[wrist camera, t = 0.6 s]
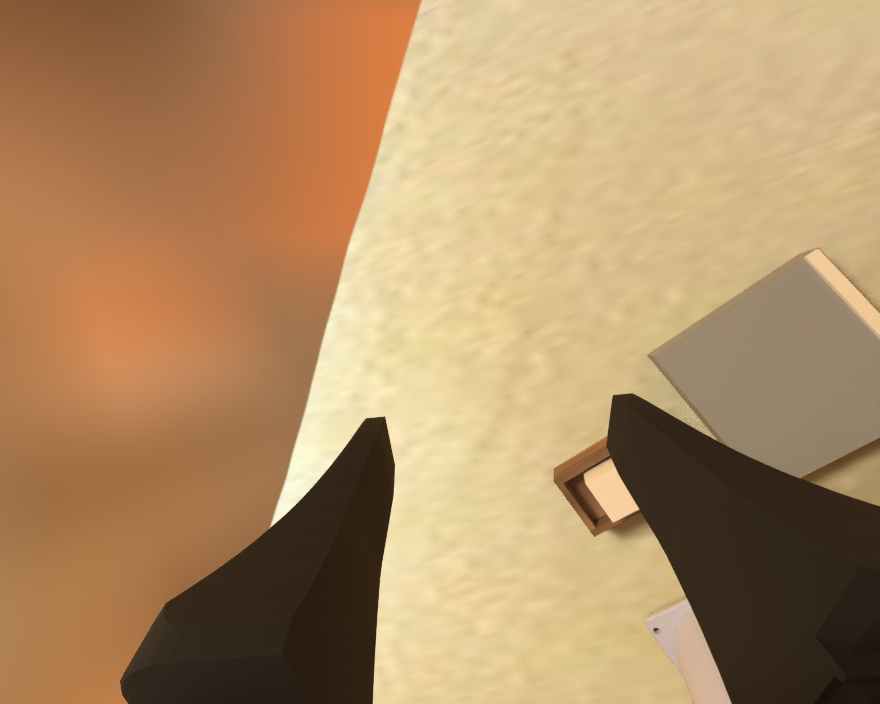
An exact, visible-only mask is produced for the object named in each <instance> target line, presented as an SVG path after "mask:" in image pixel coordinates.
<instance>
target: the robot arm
mask: <svg viewBox="0 0 880 704" xmlns="http://www.w3.org/2000/svg"><path fill="white" fill-rule="evenodd" d="M606 447H607V449H608V451H609V454H610V456H611V459H612V461H613V463H614V466H615V468H616V470H617V472H618V474H619V476H620V478H621V480H622V481H623V483H624V485H625V486H626V488H627V490H628V491H629V493H630V495H631V496H632V498H633V500H634V501H635V503H636V505H637V506H638V508H639V510H640V511H641V513H642V515H643V516H644V518H645V519H646V521H647V523H648V524H649V526H650V528H651V529H652V531H653V533H654V534H655V536H656V538H657V539H658V541H659V543H660V544H661V546H662V548H663V550H664V552H665V553H666V555H667V557H668V559H669V561H670V564H671V566H672V568H673V570H674V572H675V574H676V576H677V578H678V580H679V582H680V584H681V586H682V588H683V591H684V593H685V595H686V597H687V599H684V600H682V601H680V602H678V603H676V604H674V605H672V606H669V607H667V608H665V609H663V610H661V611H659V612H656V613H654V614H652V615H650V616H648V617H646V619H645V624H646V626H647V628H648V630H649V631H650V632H651V634H652V635H653V636H654V638H655V639H656V640H657V642H658V643H659V645H660V646H661V647H662V649H663V650H664V651H665V653H666V654H667V655H668V657H669V658H670V660H671V661H672V662H673V664H674V665H675V666H676V668H677V669H678V671H679V672H680V673H681V675H682V676H683V678H684V681H685V683H686V686H687V689H688V692H689V694H690V697H691V700H692V702H693V704H880V506H876V505H873V504H870V503H867V502H864V501H861V500H858V499H855V498H852V497H849V496H846V495H843V494H840V493H837V492H834V491H832V490H829V489H826V488H824V487H821V486H818V485H816V484H813V483H810V482H808V481H805V480H802V479H800V478H797V477H795V476H792V475H790V474H787V473H785V472H782V471H780V470H778V469H775V468H773V467H771V466H769V465H766V464H764V463H762V462H760V461H757V460H755V459H753V458H751V457H748V456H746V455H744V454H742V453H740V452H738V451H736V450H734V449H732V448H730V447H728V446H726V445H724V444H722V443H720V442H718V441H716V440H714V439H712V438H711V437H709V436H707V435H705V434H703V433H701V432H700V431H698V430H696V429H694V428H692V427H691V426H689V425H687V424H685V423H684V422H682V421H680V420H678V419H677V418H675V417H673V416H672V415H670V414H668V413H666V412H665V411H663V410H661V409H660V408H658V407H656V406H654V405H653V404H651V403H649V402H648V401H646V400H644V399H642V398H640V397H638V396H637V395H635V394H633V393H632V394H622V395H613V398H612V406H611V413H610V421H609V429H608V436H607V444H606ZM394 474H395V463H394V458H393V454H392V449H391V444H390V439H389V434H388V429H387V424H386V419H385V417H376V418H366V419H365V420H364V421H363V423H362V424H361V426H360V427H359V428H358V430H357V431H356V433H355V434H354V436H353V437H352V438H351V440H350V441H349V443H348V444H347V445H346V447H345V448H344V449H343V451H342V452H341V453H340V455H339V456H338V457H337V458H336V460H335V461H334V462H333V464H332V465H331V466H330V467H329V469H328V470H327V471H326V472H325V473H324V474H323V476H322V477H321V478H320V479H319V480H318V482H317V483H316V484H315V485H314V486H313V487H312V488H311V489H310V491H309V492H308V493H307V494H306V495H305V496H304V497H303V498H302V499H301V500H300V501H299V502H298V503H297V504H296V505H295V506H294V507H293V508H292V509H291V510H290V511H289V512H288V513H287V514H286V515H285V516H284V517H282V518H281V519H280V520H279V521H278V522H277V523H275V524H274V525H273V526H272V527H271V528H270V529H268V530H267V531H266V532H265V533H264V534H263V535H262V536H260V537H259V538H258V539H257V540H256V541H255V542H253V543H252V544H251V545H249V546H248V547H247V548H246V549H244V550H243V551H242V552H241V553H239V554H238V555H236V556H235V557H234V558H233V559H231V560H230V561H228V562H227V563H225V564H224V565H223V566H221V567H220V568H219V569H217V570H216V571H214V572H213V573H211V574H210V575H208V576H207V577H205V578H204V579H202V580H201V581H199V582H198V583H196V584H195V585H193V586H192V587H190V588H189V589H187V590H186V591H184V592H183V593H181V594H180V595H178V596H177V597H175V598H173V599H172V600H170V601H169V602H167V603H166V604H165V606H164V607H163V609H162V610H161V612H160V614H159V615H158V617H157V618H156V620H155V621H154V623H153V625H152V626H151V628H150V630H149V631H148V633H147V635H146V637H145V638H144V640H143V642H142V643H141V645H140V647H139V649H138V650H137V652H136V653H135V655H134V657H133V659H132V660H131V662H130V664H129V666H128V667H127V669H126V671H125V672H124V674H123V676H122V678H121V681H120V684H121V691H122V694H123V697H124V698H125V699H126V701H127V702H128V704H373V684H374V663H375V645H376V628H377V612H378V599H379V586H380V575H381V567H382V560H383V554H384V549H385V543H386V537H387V531H388V525H389V519H390V513H391V507H392V501H393V494H394ZM654 628H659V630H657V631H656V630H654Z"/></svg>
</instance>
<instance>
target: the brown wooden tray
mask: <svg viewBox="0 0 880 704" xmlns="http://www.w3.org/2000/svg"><path fill="white" fill-rule="evenodd" d="M606 444H607V436H606V437H605V438H603V439H601V440H600V441H598V442H597V443H595V444H593V445H592V446H590V447H588V448H587V449H585V450H583V451H582V452H580V453H579V454H577V455H575V456H574V457H572V458H570V459H569V460H567V461H565V462H564V463H562V464H561V465H559V466H557V467H556V468H554V482H555V483H556V485H557V486H558V488H559V489H560V490H561V492H562V493H563V494H564V496H565V497H566V499H567V500H568V501H569V503H570V504H571V505H572V507H573V508H574V510H575V511H576V512H577V514H578V515H579V516H580V518H581V519H582V521H583V522H584V523H585V525H586V526H587V527H588V529H589V530H590V532H591V533H592V534H593V536H594V537H595V536H597V535H599V534H601V533H602V532H604V531H606V530H608V529H610V528H612V527H614V526H615V525H617V524H619V523H621V522H623V521H625V520H627V519H628V518H630V517H632V516H634V515H636V514H638V513H640V512H641V511H640V510H637V511H635V512H633V513H631V514H629V515H627V516H625V517H623V518H621V519H620V520H618V521H616V522H614V523H613V522H612V521H611V519H610V518H609V516H608V515H607V514H606V512H605V511H604V509H603V508H602V507H601V505H600V504H599V502H598V501H597V499H596V498H595V497H594V495H593V494H592V492H591V491H590V490H589V488H588V487H587V485H586V484H585V479H584V474H583V471H585V470H586V469H588V468H590V467H591V466H593V465H595V464H597V463H598V462H600V461H602V460H603V459H605V458H607V457H608V456H610V454H609V451H608V449H607V447H606Z"/></svg>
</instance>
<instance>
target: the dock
mask: <svg viewBox="0 0 880 704" xmlns="http://www.w3.org/2000/svg"><path fill="white" fill-rule="evenodd" d="M648 356H649V358H650V359H651V360H652V361H653V362H654V364H655V365H656V366H657V367H658V369H659V370H660V371H661V372H662V373H663V375H664V376H665V377H666V378H667V379H668V381H669V382H670V383H671V384H672V386H673V387H674V388H675V389H676V390H677V392H678V393H679V394H680V395H681V396H682V398H683V399H684V400H685V401H686V403H687V404H688V405H689V406H690V407H691V409H692V410H693V411H694V412H695V413H696V415H697V416H698V417H699V418H700V420H701V421H702V422H703V423H704V424H705V426H706V427H707V428H708V429H709V430H710V432H711V433H712V434H713V435H714V437H715V438H716V439H717V440H718V441H719V442H720V443H722V444H724V445H726V446H728V447H730V448H732V449H734V450H736V451H738V452H740V453H742V454H744V455H746V456H748V457H751V458H753V459H755V460H757V461H760V462H762V463H764V464H766V465H769V466H771V467H773V468H775V469H778V470H780V471H782V472H785V473H787V474H790V475H792V476H795V477H797V478H802V477H803V476H805V475H807V474H809V473H811V472H813V471H815V470H817V469H819V468H821V467H823V466H825V465H827V464H829V463H831V462H833V461H835V460H837V459H839V458H841V457H843V456H845V455H847V454H849V453H850V452H852V451H854V450H856V449H858V448H860V447H862V446H864V445H866V444H868V443H870V442H872V441H874V440H876V439H878V438H880V312H879V311H878V310H877V309H876V308H875V307H874V306H873V305H872V304H871V303H870V301H869V300H868V299H867V298H866V297H865V296H864V295H863V294H862V293H861V292H860V291H859V290H858V289H857V288H856V287H855V286H854V285H853V284H852V282H851V281H850V280H849V279H848V278H847V277H846V276H845V275H844V274H843V273H842V272H841V271H840V270H839V269H838V268H837V267H836V266H835V265H834V263H833V262H832V261H831V260H830V259H829V258H828V257H827V256H826V255H825V254H824V253H823V252H822V251H821V250H820V249H819V248H816V249H813V250H810V251H807V252H804V253H801V254H799V255H797V256H796V257H794V258H793V259H791V260H790V261H788V262H787V263H785V264H784V265H782V266H781V267H779V268H778V269H776V270H775V271H773V272H772V273H770V274H769V275H767V276H766V277H764V278H763V279H761V280H760V281H758V282H756V283H755V284H753V285H752V286H750V287H749V288H747V289H746V290H744V291H743V292H741V293H740V294H738V295H737V296H735V297H734V298H732V299H731V300H729V301H728V302H726V303H725V304H723V305H722V306H720V307H719V308H717V309H716V310H714V311H713V312H711V313H710V314H708V315H707V316H705V317H704V318H702V319H701V320H699V321H698V322H696V323H695V324H693V325H692V326H690V327H689V328H687V329H686V330H684V331H683V332H681V333H680V334H678V335H677V336H675V337H674V338H672V339H671V340H669V341H668V342H666V343H664V344H663V345H661V346H660V347H658V348H657V349H655V350H654V351H652V352H651V353H649V354H648Z"/></svg>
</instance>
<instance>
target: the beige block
mask: <svg viewBox="0 0 880 704" xmlns="http://www.w3.org/2000/svg"><path fill="white" fill-rule="evenodd" d="M583 474H584V479H585V484H586V485H587V487H588V488H589V490H590V491H591V492H592V494H593V495H594V497H595V498H596V499H597V501H598V502H599V504H600V505H601V507H602V508H603V509H604V511H605V512H606V514H607V515H608V516H609V518H610V519H611V521H612V522H613V523H614V522H616V521H618V520H620V519H621V518H623V517H625V516H627V515H629V514H631V513H633V512H635V511H637V510H639V508H638V506H637V505H636V503H635V501H634V500H633V498H632V496H631V495H630V493H629V491H628V490H627V488H626V486H625V485H624V483H623V481H622V480H621V478H620V476H619V474H618V472H617V470H616V468H615V466H614V463H613V461H612V459H611V456H608V457H607V458H605V459H603V460H602V461H600V462H598V463H597V464H595V465H593V466H591V467H590V468H588V469H586V470H585V471H583Z"/></svg>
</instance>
